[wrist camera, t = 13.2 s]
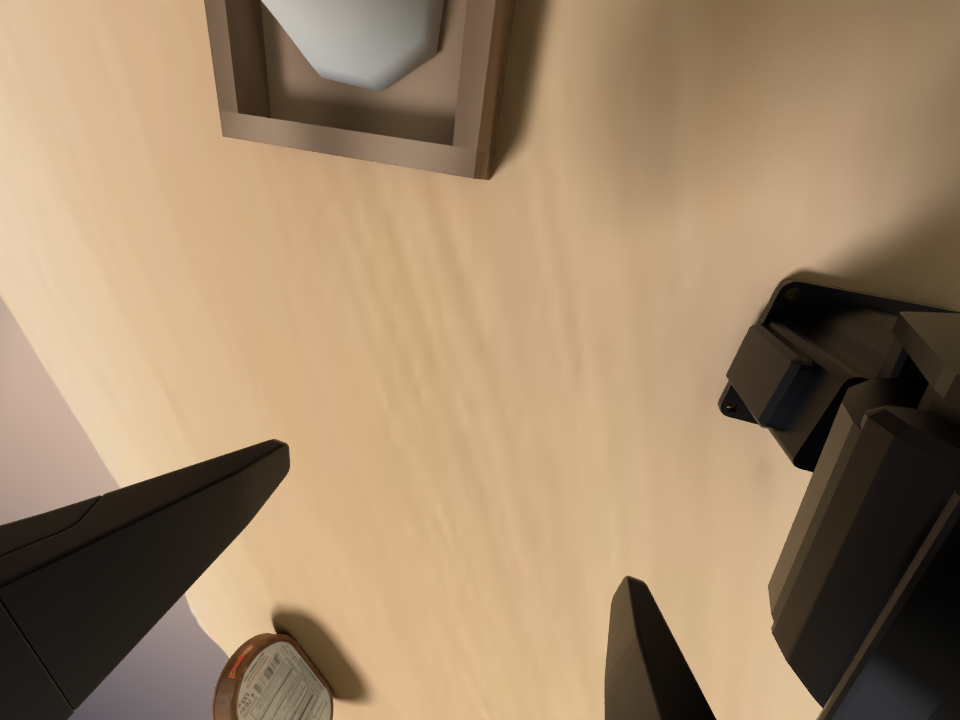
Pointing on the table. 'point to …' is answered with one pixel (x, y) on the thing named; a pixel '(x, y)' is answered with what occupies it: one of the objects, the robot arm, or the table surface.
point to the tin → (271, 683)
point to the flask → (362, 36)
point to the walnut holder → (366, 91)
